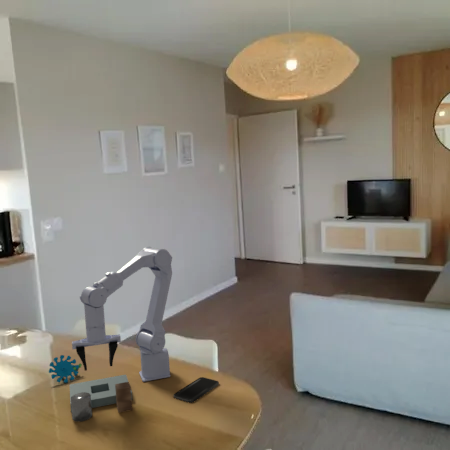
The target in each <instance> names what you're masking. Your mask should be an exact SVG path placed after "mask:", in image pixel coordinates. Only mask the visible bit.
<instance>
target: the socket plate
mask: <svg viewBox="0 0 450 450" xmlns="http://www.w3.org/2000/svg"><path fill="white" fill-rule="evenodd" d="M124 382H129V379H128V376H127V374H122V375H121V374H120V375H115V376H111V377H105V378H104V377H103V378H99V379H93V380H87V381H81V382H76V383H71V384H69V401H70V402H69V403H70V404H69V405H70V406H71V397H72V396H73V395H75V394H77V393H82V392H86V393H90V395H91V406H92V409H94V408H99V407H103V406H109V405H114V404H117V403H116V389H115V384H119V383H124ZM131 401H133V392H132V390H131ZM70 412H71V413H72V409H71V408H70Z"/></svg>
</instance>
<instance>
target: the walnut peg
mask: <svg viewBox="0 0 450 450" xmlns="http://www.w3.org/2000/svg"><path fill="white" fill-rule="evenodd" d="M131 388H132V387H131V385H130V381H128V382H124V383H119V384H115V389H116V403H115V404H116V409H117V412H118V413H123V412H124V413H125V412H129V411H133V403H132V402H133V400H131V391H132V389H131Z"/></svg>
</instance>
